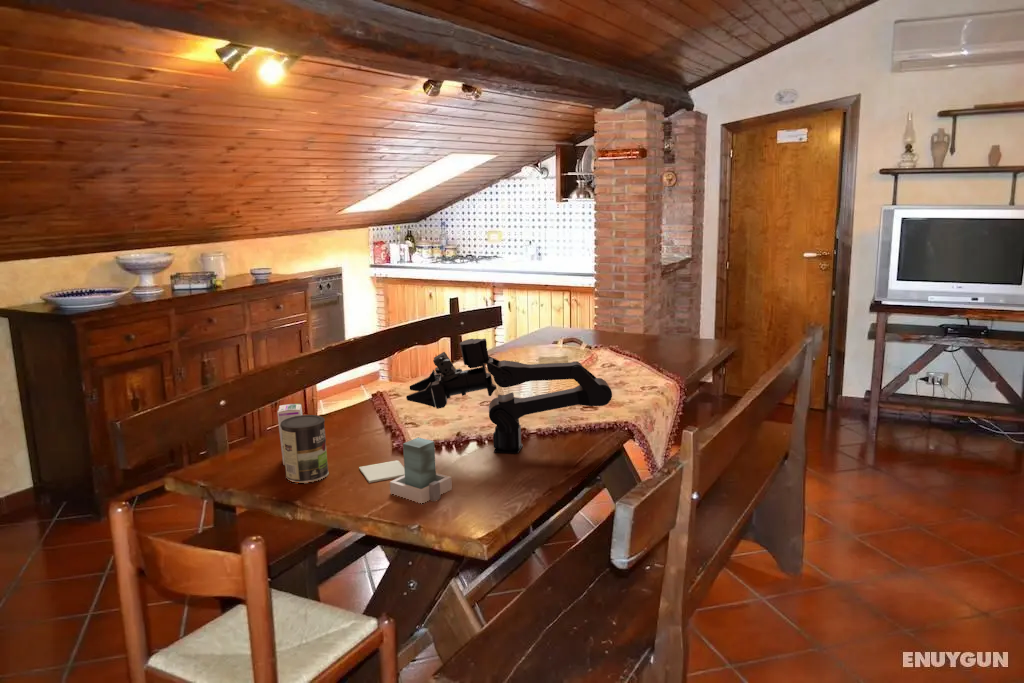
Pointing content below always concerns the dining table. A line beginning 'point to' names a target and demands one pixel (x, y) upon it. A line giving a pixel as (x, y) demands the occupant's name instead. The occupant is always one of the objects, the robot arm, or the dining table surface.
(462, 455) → the dining table surface
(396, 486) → the collar
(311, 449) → the coffee can
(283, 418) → the syrup box
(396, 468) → the mat
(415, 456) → the post
